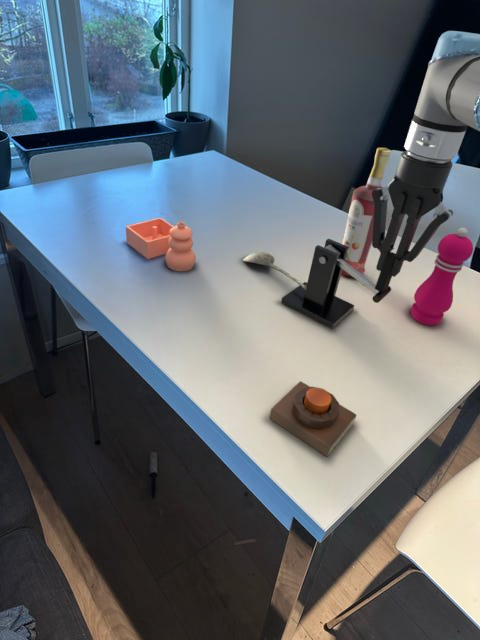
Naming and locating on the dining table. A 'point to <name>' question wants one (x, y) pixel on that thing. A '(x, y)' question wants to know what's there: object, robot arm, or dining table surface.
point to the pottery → (163, 242)
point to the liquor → (363, 216)
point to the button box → (312, 420)
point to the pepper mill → (441, 279)
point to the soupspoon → (268, 263)
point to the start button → (317, 400)
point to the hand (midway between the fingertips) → (381, 287)
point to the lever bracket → (322, 288)
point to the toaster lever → (360, 277)
